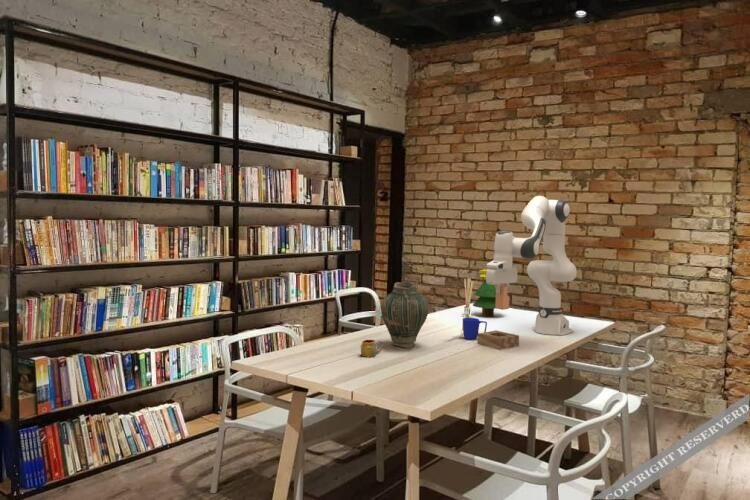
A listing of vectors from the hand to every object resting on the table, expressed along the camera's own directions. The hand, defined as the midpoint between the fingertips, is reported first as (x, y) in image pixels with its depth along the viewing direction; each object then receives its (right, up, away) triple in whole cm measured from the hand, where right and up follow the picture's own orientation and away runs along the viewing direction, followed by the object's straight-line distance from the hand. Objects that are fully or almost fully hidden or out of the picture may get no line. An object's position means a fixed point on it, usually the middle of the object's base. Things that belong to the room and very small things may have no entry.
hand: (501, 293), depth 271 cm
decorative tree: (+9, -21, +80) cm, 83 cm away
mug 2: (-11, -25, +15) cm, 30 cm away
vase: (-47, -25, -4) cm, 54 cm away
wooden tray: (-1, -25, +3) cm, 26 cm away
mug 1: (-62, -26, -22) cm, 71 cm away
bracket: (0, -8, +1) cm, 8 cm away
